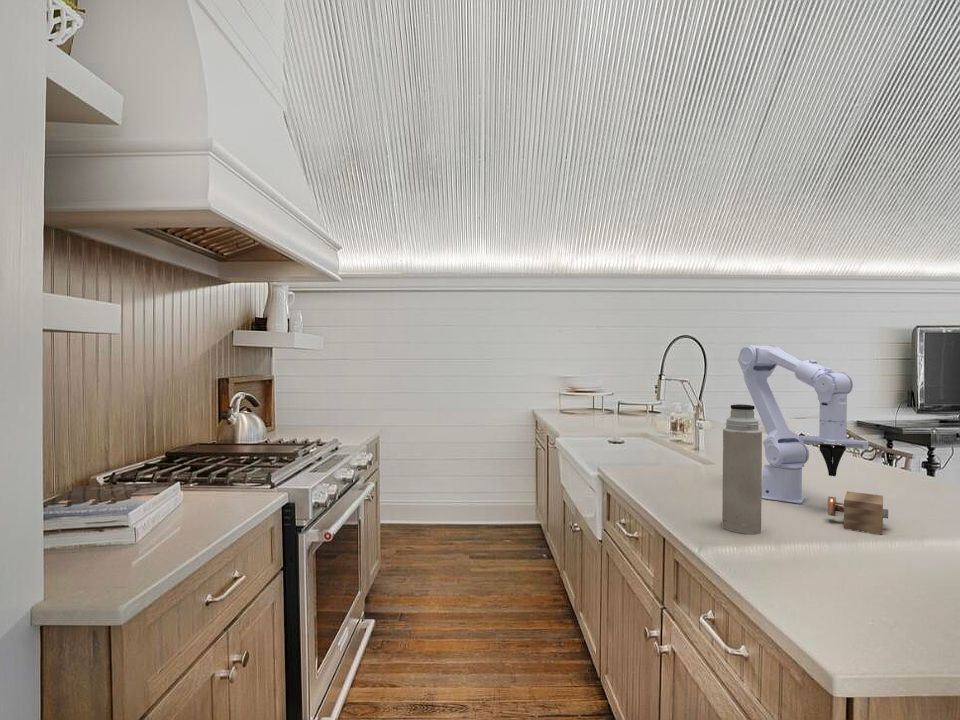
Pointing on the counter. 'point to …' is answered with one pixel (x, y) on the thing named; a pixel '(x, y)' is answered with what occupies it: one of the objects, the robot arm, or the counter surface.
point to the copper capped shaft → (840, 508)
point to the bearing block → (863, 512)
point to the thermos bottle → (742, 471)
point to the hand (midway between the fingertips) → (832, 475)
